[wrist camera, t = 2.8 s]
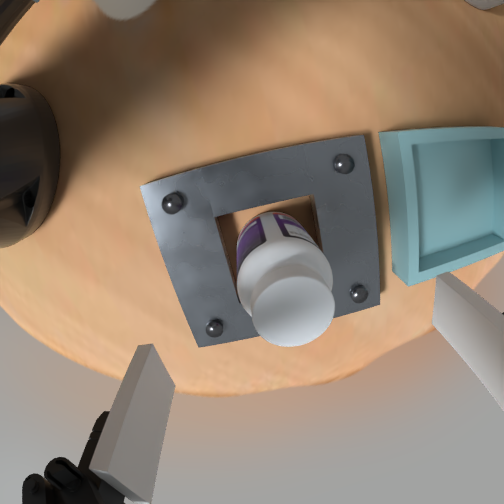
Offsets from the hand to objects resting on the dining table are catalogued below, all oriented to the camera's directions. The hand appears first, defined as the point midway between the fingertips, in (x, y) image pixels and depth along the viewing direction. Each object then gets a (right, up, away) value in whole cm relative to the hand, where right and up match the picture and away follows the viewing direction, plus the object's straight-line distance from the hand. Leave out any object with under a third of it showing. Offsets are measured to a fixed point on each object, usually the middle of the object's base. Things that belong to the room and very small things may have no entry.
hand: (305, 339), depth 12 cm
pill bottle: (-1, +4, +11) cm, 12 cm away
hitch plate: (-1, +4, +10) cm, 11 cm away
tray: (+16, +9, +9) cm, 20 cm away
